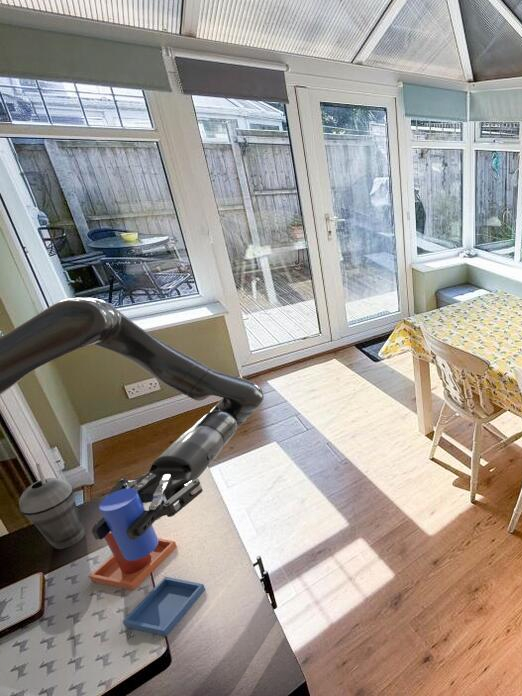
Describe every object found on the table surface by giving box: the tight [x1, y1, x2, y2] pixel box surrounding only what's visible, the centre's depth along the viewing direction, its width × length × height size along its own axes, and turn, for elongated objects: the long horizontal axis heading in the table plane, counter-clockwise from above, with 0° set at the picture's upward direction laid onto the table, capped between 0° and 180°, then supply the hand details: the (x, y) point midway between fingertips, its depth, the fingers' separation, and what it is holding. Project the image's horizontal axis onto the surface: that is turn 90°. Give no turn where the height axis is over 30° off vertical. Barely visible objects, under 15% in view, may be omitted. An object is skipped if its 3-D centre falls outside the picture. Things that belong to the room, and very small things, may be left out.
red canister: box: [103, 531, 151, 574], centre depth 78 cm, size 4×4×11 cm
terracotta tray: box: [88, 537, 178, 591], centre depth 80 cm, size 9×9×2 cm
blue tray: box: [122, 576, 206, 638], centre depth 73 cm, size 8×8×2 cm
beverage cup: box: [18, 463, 86, 550], centre depth 80 cm, size 7×7×20 cm
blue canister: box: [98, 488, 159, 561], centre depth 65 cm, size 4×4×11 cm
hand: (113, 535), depth 62 cm, fingers closed on blue canister, 4 cm apart
